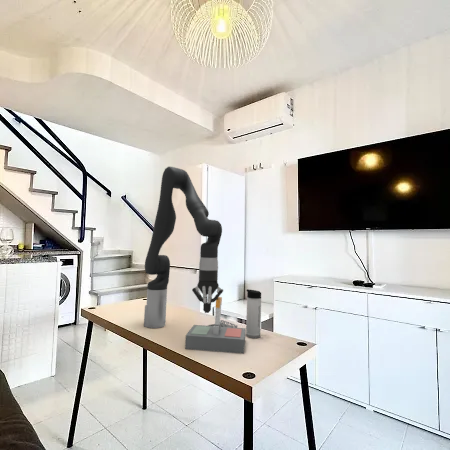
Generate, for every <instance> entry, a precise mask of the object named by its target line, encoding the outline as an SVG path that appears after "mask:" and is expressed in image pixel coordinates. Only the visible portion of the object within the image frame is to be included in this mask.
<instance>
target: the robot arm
mask: <svg viewBox="0 0 450 450" xmlns="http://www.w3.org/2000/svg"><path fill="white" fill-rule="evenodd" d="M160 182H161V183H160V192H159V193H160V194H159V201H158V205H157V206H158V207H157V210H156V215H155V219H154V224H153V231H152V235H151V241H150V243H149V247H148V251H147V254H146V257H145V261H144V271H145V274H147V275H149V276H154V275H156V277H155V278H154V279H153V280H151V281H149V282H148V283H147V289H146V290H147V291H146V304H145V305H144V313H143V314H144V316H143V318H144V319H143V327H146V328H149V329H160V328H164V327H165V326H166V321H167V320H166V319H167V317H166V316H167V300H168V299H167V296H168V285H169V282H170V271H171V261H170V258H169V256H168V255H166V254H160V251H161V248H162V247H163V245H164V243H166V242H167V240H169V238H170V237H171V235H173V233H174V230H175V226H176V220H177V214H176V211H175V207H174V203H173V191H174V189H177V190H179V191H181V192H182V193H183V194H184V196H185V206H186V209H187V211H188V212H189V214H190V216H191V217H192V219H193V221H194V225H195V228H196V231H197V232H198V234H199V236H202V237H207V239H206V242H202V244H201V245H200V254H199V257H200V258H199V264H198V265H199V266H198V282H197V285H196V286H195V287H193V288H192V293H193V294H194V295H195V296H196V299H198V302H201V303H202V304H203V308H202V310H203V312H204V313H205V314H209V313H210V312H211V311H212V303H216V299H217V298H218V297H221V294H223V292H224V289H223V288H221V287H220V285H219V283H218V279H219V278H218V276H219V272H218V270H219V261H218V260H219V259H218V255H219V252H218V251H219V245H220V241H221V238H222V233H223V227H222V224H221V223H220V221H219V220H217V219H209V218H208V217H209V212H210V211H209V209H207V207H206V205H205V204H204V203H203V201H202V200H201V198H200V197H199V195H198V193H197V190H196V188H195V186H194V185H193V182H192V179H191V178H190V175H189V173H188V172H187V171H186V170H184V169H182V168H178V167H175V166H167V167H165V168H164V170H163V173H162V175H161V181H160ZM215 292H216V293H217V294H216V295H215V296H214V297H213V294H214V293H215ZM201 294H202V295H201Z"/></svg>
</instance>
